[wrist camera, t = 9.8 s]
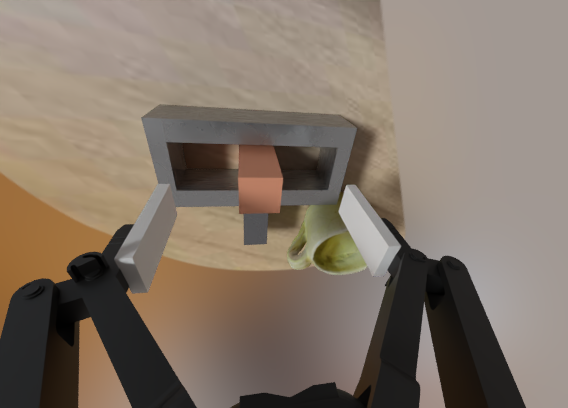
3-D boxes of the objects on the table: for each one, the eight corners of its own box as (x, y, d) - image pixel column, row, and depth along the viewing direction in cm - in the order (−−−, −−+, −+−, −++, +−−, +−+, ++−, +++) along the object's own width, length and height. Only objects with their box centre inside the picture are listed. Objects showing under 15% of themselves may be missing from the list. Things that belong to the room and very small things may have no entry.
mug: (374, 175, 29) (397, 247, 23) (363, 216, 37) (378, 277, 31) (280, 184, 30) (280, 254, 25) (290, 222, 39) (291, 281, 33)
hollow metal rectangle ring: (159, 104, 22) (141, 117, 18) (339, 114, 26) (357, 128, 22) (184, 224, 31) (176, 250, 27) (316, 220, 34) (326, 244, 30)
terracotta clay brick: (240, 163, 27) (239, 213, 19) (239, 135, 25) (238, 177, 17) (269, 164, 28) (279, 212, 20) (270, 136, 26) (283, 177, 18)
